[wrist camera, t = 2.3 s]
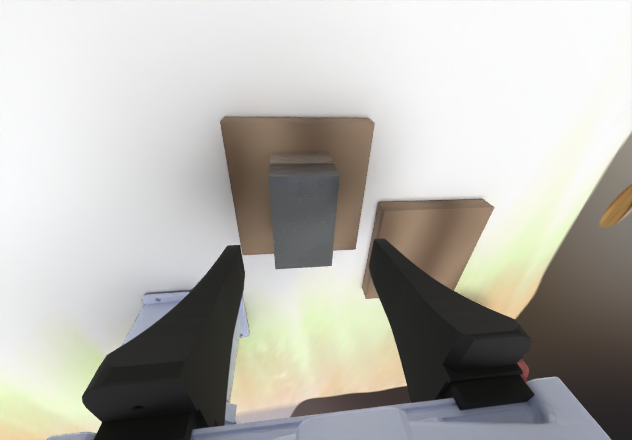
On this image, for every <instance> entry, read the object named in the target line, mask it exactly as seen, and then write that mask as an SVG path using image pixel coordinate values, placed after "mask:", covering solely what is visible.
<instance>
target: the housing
mask: <svg viewBox="0 0 632 440" xmlns="http://www.w3.org/2000/svg"><path fill="white" fill-rule="evenodd" d="M339 177H340V175H339V173H338V171H337V169H336V167H335V165H334V163H333V161H332V158H331V156H330V154H329V152H328V153H271V156H270V166H269V175H268V178H269V191H270V204H271V217H272V230H273V243H274V256H275V268H276V269H286V268H303V267H321V266H332V255H333V244H334V233H335V222H336V210H337V199H338V188H339Z"/></svg>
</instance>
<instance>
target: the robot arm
mask: <svg viewBox="0 0 632 440" xmlns="http://www.w3.org/2000/svg"><path fill="white" fill-rule="evenodd" d="M369 270H370V274H371V278H372V281H373V284H374V287H375V289H376V291H377V294H378V296H379V299H380V301H381V303H382V306H383V308H384V310H385V313H386V315H387V317H388V320H389V323H390V325H391V329H392V332H393V335H394V338H395V342H396V345H397V349H398V352H399V356H400V359H401V363H402V367H403V371H404V375H405V379H406V382H407V387H408V391H409V395H410V400H411V403H407V404H400V405H391V406H382V407H375V408H366V409H358V410H350V411H341V412H333V413H325V414H317V415H308V416H300V417H292V418H284V419H275V420H267V421H259V422H251V423H243V424H242V422H241V421H240V420H238V419H235V415H236V407H237V405H235V404H231V403H230V398H231V391H232V384H233V377H234V371H235V364H236V357H237V350H238V343H239V338H241V337H247V336H249V327H248V322H247V316H246V311H245V306H244V301H243V296H242V295H243V289H244V278H245V271H244V265H243V259H242V254H241V248H240V245H230V246H227V247H226V248H225V250H224V251H223V253H222V254H221V255H220V257H219V258H218V259H217V261H216V262H215V263H214V265H213V266H212V267H211V269H210V270H209V271H208V272H207V274H206V275H205V276H204V277H203V278H202V279H201V281H200V282H199V283H198V284H197V285H196V286H195V287H194V288H193V289H192V290H191V291H190V292H177V293H161V294H147V295H144V296H143V298H142V302H143V304H144V306H143V308H142V310H141V311H140V313H139V315H138V317H137V319H136V321H135V322H134V324H133V326H132V328H131V330H130V332H129V334H128V335H127V337H126V339H125V341H124V343H123V345H122V346H121V347H119V348H118V349H116V350H115V351H113V352H111V353H110V354H108V355H107V356H106V357H105V359H104V360H103V362H102V363H101V365H100V366H99V368H98V370H97V372H96V373H95V375H94V377H93V379H92V380H91V382H90V384H89V385H88V387H87V389H86V391H85V392H84V394H83V396H82V402H83V404H84V405H85V406H86V408H87V409H88V410H89V411H90V412H92V413H93V414H94V415H95V416H96V417H97V418H98V419H99V420H100V421H102V424H101V426H100V428H99V430H98V432H97V434H96V433H92V432H80V433H72V434H63V435H55V436H51V437H49V438H48V439H47V440H611V439H610V438H609V437H608V435H607V434H606V433H605V432H604V431H603V429H601V427H600V426H599V425H598V424H597V422H596V421H595V420H594V419H593V418H592V417H591V415H590V414H589V413H588V412H587V411H586V409H585V408H584V407H583V406H582V405H581V404H580V402H579V401H578V400H577V399H576V398H575V397H574V396H573V394H572V393H571V392H570V391H569V389H568V388H567V387H566V386H565V385H564V384H563V382H562V381H561V380H560V379H559V378H558V377H549V378H541V379H534V380H530V381H528V382H525V381H524V380H523V378H522V377H521V376H520V375H522V374H523V371H522V369H521V368H520V367H519V365H518V364H517V363H518V362H519V361H520V360H521V358H522V357H523V356H524V355H525V354H526V353H527V352H528V350H529V349H530V347H531V343H532V340H531V338H530V336H529V335H528V334H527V333H526V332H525V331H524V330H523V328H522V327H521V326H520V325H519V324H518V323H517V321H516V320H515V319H512V318H510V317H508V316H505V315H503V314H500V313H498V312H495V311H493V310H490V309H488V308H486V307H484V306H482V305H480V304H478V303H475V302H473V301H471V300H469V299H467V298H466V297H464V296H462V295H460V294H458V293H456V292H455V291H453V290H451V289H449V288H448V287H446V286H445V285H443V284H441V283H440V282H438V281H437V280H435V279H434V278H432V277H431V276H429V275H428V274H427V273H425V272H424V271H423V270H421V269H420V268H419V267H417V266H416V265H415V264H414V263H412V262H411V261H410V260H409V259H408V258H406V257H405V256H404V255H403V254H402V253H401V252H400V251H398V250H397V249H396V248H395V247H394V246H393V245H392V244H390V243H389V242H388V241H387V240H386V239H385V238H384V239H374V241H373V246H372V251H371V256H370V261H369Z"/></svg>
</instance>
